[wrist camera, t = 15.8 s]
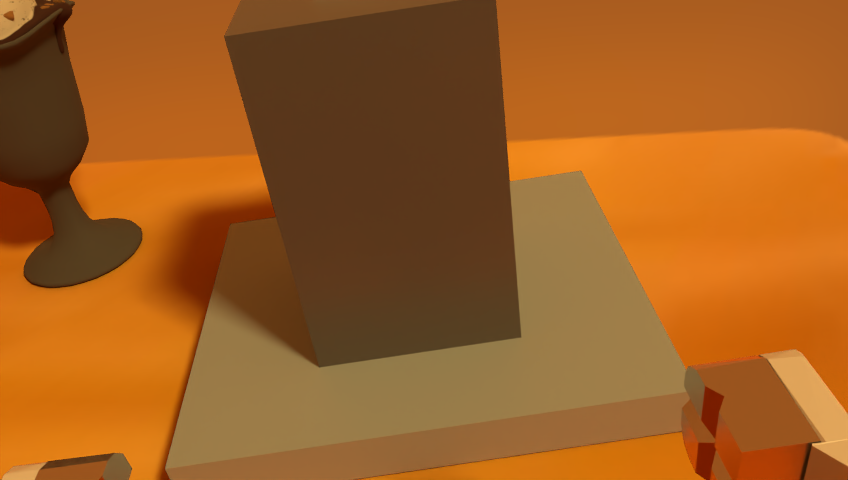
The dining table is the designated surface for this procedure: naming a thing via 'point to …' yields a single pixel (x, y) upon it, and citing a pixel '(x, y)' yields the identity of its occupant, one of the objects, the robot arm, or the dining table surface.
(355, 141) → the slotted ballot box
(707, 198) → the dining table surface
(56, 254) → the sundae
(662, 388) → the post
